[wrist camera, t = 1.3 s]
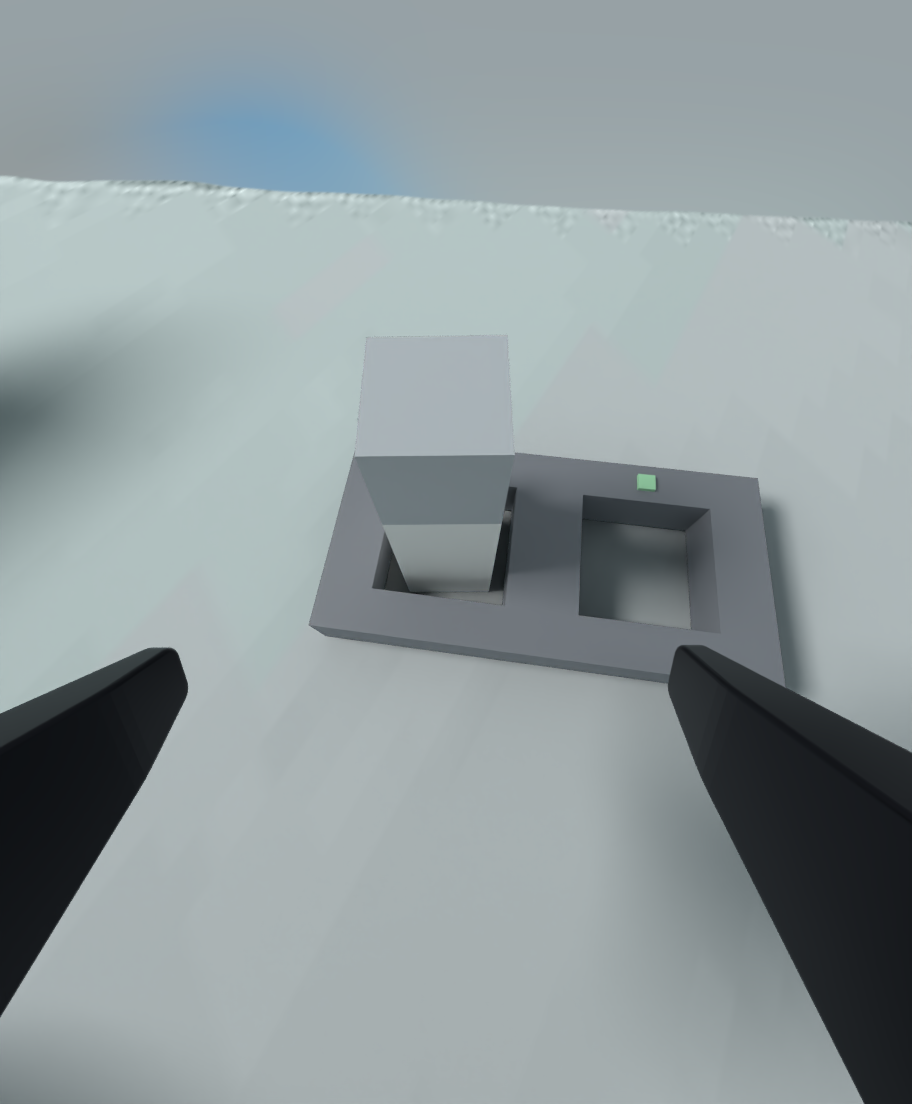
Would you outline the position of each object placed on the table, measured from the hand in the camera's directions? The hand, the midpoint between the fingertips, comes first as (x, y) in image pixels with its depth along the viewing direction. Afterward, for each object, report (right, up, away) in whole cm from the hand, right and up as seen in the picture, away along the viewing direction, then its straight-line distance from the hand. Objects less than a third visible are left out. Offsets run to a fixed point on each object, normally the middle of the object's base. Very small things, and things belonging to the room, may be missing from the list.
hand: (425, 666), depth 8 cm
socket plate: (+5, +1, +14) cm, 15 cm away
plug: (0, +2, +15) cm, 15 cm away
